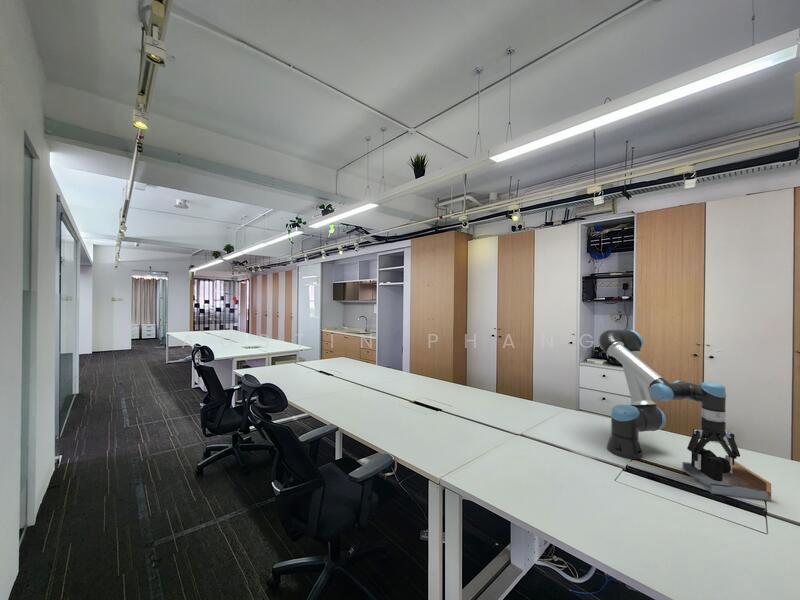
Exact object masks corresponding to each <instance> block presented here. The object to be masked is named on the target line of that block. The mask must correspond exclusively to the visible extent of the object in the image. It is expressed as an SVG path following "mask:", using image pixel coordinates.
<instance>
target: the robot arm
mask: <svg viewBox="0 0 800 600" xmlns="http://www.w3.org/2000/svg"><path fill="white" fill-rule="evenodd" d="M598 341H599V346H600V348H601V349H602V350H603V351H604V353H606V354H607V355H608V356H609V357H613V358H614V359H616V361H618V362H619V364H621V365H622V369H623V374H624V377H625V380H626V384H627V389H628V391H629V396H630V399H631V402H630V403H629V404H617V405H614V406H613V407H612V408H611V415H610V416H611V419H610V421H611V422H610V423H611V424H610V425H611V427H610V428H611V429H610V432H611V434H610V436H609V439H608V442H607V443H606V444H607V445H606V449H607V451H608V452H609V453H611V454H614V455H616V456H619V457H620V458H621V457H622V458H625V459H631V460H639V459H640V460H641V459H642V458H643V456H644V453H643V449H642V446H641V444H640V441H639V436H640V435H639V433H641V432H643V433H644V432H655V431H659V430H662V429H663V428H664V427H665V426H666V423H667V419H666V415H665V412H664V411H663V410H661V408H659V407H657V403H656V402H654V401H653V400H652V398H654V400H657V401H661V402H663V401H664V402H669V401H681V400H682V401H683V400H691V401H694V402H697V403H701V413H700V414H701V423H700V425H701V429H696V428H693V429H692V435H691V437H690V440H689V442H688V445H687V448H686V449H687V450H688V451H689V452H690V453H692V452H693V460H695V467H696V468H697V469H699V470H701V455H700V454H699V453H700V451H701V450H702V449H703V448H704V449H705V447H706V445H707V444H709V443H710V442H717V443H719V444H720V445H721V447H722V449H723V450H724V451H725V453H726V454H725V457H724V458H725V459H727V460H728V462H729V463H730V466H731V471H730V472H729V473H732V465H734V461H735V460H736V459H737V458H740V457H741V453H740V450H739V449H738V445H737V443H736V441H735V433H732V432H730V431H726V430H727V429H726V427H727V425H726V418H727V417H726V412H727V411H726V410H727V409H726V403H727V402H726V401H727V400H726V399H727V393H726V387H725V386H724V385H723V384H720V383H717V382H712V381H711V382H710V381H709V382H708V381H705V382H704V381H703V382H702V383H701V384H697V383H694V382H693V383H692V382H689V381H685V380H678V379H677V380H674V381H673V382H669V381H668V380H666V378H664V377H662V376H661V375H660V374H659V373H657V372H656V371H655V370H654V369H653V368H651V367H650V366H649V365H648V364H646V363H645V361H643V360H642V359H640V357H639V355H640V354H641V352H642V351H641V348H642V347H643V345H644V341H643V337H642V335H641V334H640V333H639V332H638V331H636V330H633V329H608V330H605V331H604V332H602V333H601V334H600V336H599V338H598ZM651 397H652V398H651ZM725 438H726V439H727V442H726V440H725ZM727 443H728V444H727Z"/></svg>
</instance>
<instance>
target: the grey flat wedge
mask: <svg viewBox="0 0 800 600" xmlns="http://www.w3.org/2000/svg"><path fill="white" fill-rule="evenodd" d="M691 465H692V464H691V462H686V461H682V465H681V467H682V468H681V469H682V471H684V472H685V473H686V474H687V475H689V476H690V477H691V478H692V479H694V480H695V481H696V482H697V483H699V484H700V485H701V486H702V487H704V488H705V489H706V490H707V491H708V492H710V493H711V494H712V495H720V496H729V497H736V498H745V499H750V498H754V499H753V500H758V499H761V500H760V501H767V502H768V501H769V502H772V483H771V482H770V481H768V480H766V479H765V478H763V477H762V476H760V475H758V474H756V473H755V472H753V471H752V470H750V469H749V468H747V467H745V466H743V465H742V464H740V463H739V462H737V461H736V460H734V465H732V473H723V478H722V479H723V480H722V481H715V480H712V479H711V478H709V477H708V476H706V475H705V474H703V473H702V472H700V471H699V470H697V469H696V468H694V467H693V466H691Z"/></svg>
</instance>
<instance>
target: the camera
mask: <svg viewBox="0 0 800 600" xmlns="http://www.w3.org/2000/svg"><path fill="white" fill-rule="evenodd" d="M699 454H700V455H701V470H699V469H697V468H696V467H695V460H693V452H691V462H690V463H691V464H692V465H691V466H693V467H694V468H696V469H697V470H699V471H700V472H702V473H703V474H705V475H706V476H708V477H709V478H711V479H712V480H715V481H722V480H723V479H722V478H723V473H729V472H730V471H731V466H730V463H729V462H728V460H727V459H725V457H722V456H717V455H716V454H715V453H714V452H713V451H712V450H711V449H706V448H705V447H704V448H703V449H702V450H701V451H700V453H699Z"/></svg>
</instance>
